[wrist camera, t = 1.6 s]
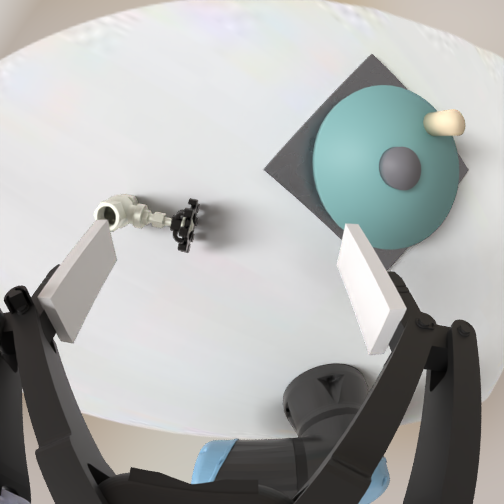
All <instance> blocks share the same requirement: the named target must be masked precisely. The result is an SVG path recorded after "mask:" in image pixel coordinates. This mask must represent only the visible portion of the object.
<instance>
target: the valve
mask: <svg viewBox="0 0 504 504" xmlns="http://www.w3.org/2000/svg"><path fill="white" fill-rule="evenodd" d="M188 204H190V205H191V208H190V209H189V208H185V209H184V210H180V211H178V212H177V214H176V215H173V217H172V218H168V217H167V216H166V213H161V212H155V213H154V214H152V213H151V210H148V206H147V205H145V204H138V201H137V198H136V196H132V195H126V194H121V195H114V196H112V197H110V198H109V199H107V200H105V201H102V202H101V203H100V205H99V206H98V207H97V209H96V211H95V213H94V217H95V220H108V223H109V228H110V232H114V231H115V230H117V229H118V228H123V227H125V226H127V225H128V224H133V226H134V227H136V228H140V229H142V228H144V226H145V225H148V224H149V223H152V226H153V227H158V228H164V226H165V225H166V226H170V230H171V231H173V238H174V240H175V241H176V242H178V243H179V244H178V250H180V251H181V252H186V253H189V251H190V242H193V240H194V234H193V233H194V228H195V226H197V223H198V218H197V217H196V216H197V213H198V211H199V207H200V204H198V200H196V199H191V198H190V199H189V202H188ZM178 232H179V236H181V237H182V238H178V236H177V235H178Z"/></svg>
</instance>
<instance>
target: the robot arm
mask: <svg viewBox="0 0 504 504" xmlns="http://www.w3.org/2000/svg"><path fill="white" fill-rule="evenodd" d="M116 261H117V258H116V254H115V250H114V245H113V241H112V237H111V233H110V228H109V223H108V220H96V221H95V222H94V223H93V224H92V226H91V227H90V228H89V229H88V230H87V232H86V233H85V234H84V235H83V236H82V238H81V239H80V240H79V241H78V243H77V244H76V245H75V246H74V248H73V249H72V250H71V251H70V253H69V254H68V255H67V257H66V258H65V259H64V261H63V262H62V263H61V265H60V264H58V265H57V266H55V267H54V268H53V269H52V270H51V271H50V272H49V273H48V275H47V276H46V278H45V279H44V280H43V281H42V283H41V284H40V286H39V287H38V288H37V290H36V291H35V293H34V294H33V296H32V297H30V295H29V293H28V291H27V288H26V287H25V286H17V287H14V288H12V289H11V290H10V291H8V292H7V294H6V295H5V297H4V302H5V304H6V306H7V307H8V309H9V311H10V312H8V313H3V312H2V311H1V309H0V504H31V493H30V483H29V476H28V469H27V464H26V463H27V462H26V454H25V445H24V435H23V417H22V388H23V392H24V396H25V400H26V404H27V408H28V412H29V416H30V419H31V423H32V426H33V429H34V432H35V435H36V438H37V441H38V445H39V448H38V449H37V450H36V451H35V455H36V459H37V462H38V464H39V467H40V470H41V472H42V475H43V477H44V480H45V482H46V484H47V487H48V489H49V491H50V493H51V495H52V497H53V500H54V502H55V504H370V503H371V502H373V501H374V500H376V499H377V498H378V497H379V496H381V495H382V493H383V492H384V491H385V490H386V489H387V487H388V485H389V482H390V477H389V473H388V469H387V465H386V462H387V461H386V458H385V457H384V453H385V452H386V450H387V448H388V446H389V444H390V442H391V440H392V439H393V437H394V435H395V433H396V431H397V429H398V427H399V425H400V423H401V421H402V419H403V416H404V414H405V412H406V410H407V408H408V406H409V403H410V401H411V399H412V396H413V394H414V392H415V389H416V387H417V384H418V382H419V379H420V377H421V374H422V372H423V369H427V373H426V385H425V395H424V404H423V412H422V419H421V426H420V432H419V438H418V443H417V449H416V453H415V458H414V463H413V467H412V472H411V475H410V480H409V483H408V487H407V491H406V494H405V498H404V501H403V504H473V499H474V494H475V487H476V481H477V473H478V465H479V454H480V439H481V382H480V367H479V356H478V347H477V339H476V333H475V330H474V328H473V327H472V325H470V324H469V323H468V322H466V321H464V320H455V321H454V322H453V323H452V325H451V327H446V326H440V325H437V324H436V322H435V320H434V319H433V318H432V317H431V316H430V315H428V314H426V313H423V312H421V311H420V309H419V308H418V306H417V304H416V302H415V300H414V299H413V297H412V295H411V293H409V290H408V288H407V287H406V285H405V283H404V281H403V280H402V278H401V277H400V276H399V275H398V274H396V273H395V272H387V271H386V269H385V268H384V266H383V264H382V262H381V261H380V259H379V257H378V256H377V254H376V252H375V251H374V249H373V247H372V245H371V244H370V242H369V241H368V239H367V237H366V236H365V234H364V232H363V231H362V229H361V228H360V226H359V224H346V223H345V228H344V233H343V238H342V243H341V247H340V252H339V256H338V261H337V267H338V270H339V273H340V275H341V278H342V280H343V283H344V286H345V288H346V291H347V294H348V296H349V299H350V302H351V305H352V307H353V310H354V313H355V316H356V319H357V321H358V324H359V327H360V330H361V333H362V336H363V339H364V342H365V345H366V348H367V351H368V354H369V355H375V354H384V353H385V351H386V349H387V347H388V345H389V346H390V349H391V351H392V352H391V354H390V356H389V358H388V359H387V361H386V363H385V364H384V366H383V369H382V371H381V373H380V375H379V376H378V378H377V380H376V382H375V384H374V385H373V387H372V389H371V391H370V392H369V394H368V386H367V383H366V381H365V379H364V377H363V375H362V374H361V372H360V371H358V370H357V369H355V368H354V367H351V366H348V365H343V364H328V365H323V366H319V367H315V368H313V369H310V370H308V371H306V372H304V373H302V374H301V375H299V376H298V377H296V378H295V379H294V380H293V381H292V382H291V383H290V384H289V385H288V387H287V388H286V390H285V392H284V396H283V405H284V412H285V415H286V417H287V418H288V420H289V422H290V423H291V425H292V426H293V428H294V430H295V431H296V433H297V434H298V438H285V439H264V440H239V439H234V440H213V441H210V442H208V443H206V444H205V445H204V446H203V448H202V449H201V451H200V453H199V455H198V458H197V460H196V463H195V467H194V471H193V475H192V482H191V484H189V483H186V482H183V481H180V480H178V479H175V478H172V477H170V476H167V475H165V474H162V473H159V472H153V471H147V470H142V469H137V468H132V467H131V469H130V473H123V474H119V475H115V473H114V472H113V470H112V469H111V468H110V467H109V465H108V464H107V463H106V462H105V460H104V459H103V457H102V455H101V453H100V451H99V449H98V448H97V446H96V444H95V442H94V440H93V438H92V436H91V434H90V431H89V429H88V428H87V425H86V423H85V421H84V418H83V416H82V414H81V412H80V409H79V407H78V405H77V402H76V400H75V397H74V395H73V392H72V390H71V387H70V384H69V382H68V379H67V376H66V373H65V371H64V368H63V365H62V362H61V359H60V356H59V352H58V349H57V346H56V343H55V341H54V340H53V337H54V336H55V334H57V335H58V337H59V339H60V341H63V342H68V343H74V341H75V339H76V337H77V335H78V333H79V331H80V329H81V327H82V325H83V323H84V320H85V318H86V316H87V315H88V313H89V311H90V309H91V307H92V305H93V303H94V301H95V299H96V297H97V295H98V293H99V291H100V290H101V288H102V286H103V284H104V282H105V280H106V279H107V277H108V275H109V273H110V272H111V270H112V268H113V266H114V265H115V263H116Z"/></svg>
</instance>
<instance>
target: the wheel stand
mask: <svg viewBox="0 0 504 504" xmlns="http://www.w3.org/2000/svg"><path fill="white" fill-rule="evenodd" d="M378 85H390V86H396V87H401V88H404V89H406V88H405V86H404V85H403V84H402V83H401V82H400V81H399V80H398V79H397V78H396V77H395V76H394V75H393V74H392V73H391V72H390V71H389V70H388V69H387V68H386V67H385V66H384V65H383V64H382V63H381V62H380V61H379V60H378V59H377V58H376V57H375V56H374V55H373V54H371V55H370V56H369V57H368V58H367V59H366V60H365V61H364V62H363V63H362V64H361V65H360V66H359V67H358V68H357V69H356V70H355V71H354V72H353V73H352V74H351V75H350V76H349V77H348V78H347V79H346V80H345V81H344V82H343V83H342V84H341V85H340V86H339V87H338V88H337V89H336V91H335V92H334V93H333V94H332V95H331V96H330V97H329V98H328V99H327V100H326V101H325V102H324V103H323V104H322V105H321V106H320V107H319V108H318V110H317V111H316V112H315V113H314V114H313V115H312V116H311V117H310V118H309V119H308V120H307V121H306V122H305V124H304V125H303V126H302V127H301V128H300V129H299V130H298V131H297V132H296V133H295V134H294V136H293V137H292V138H291V139H290V140H289V141H288V142H287V143H286V144H285V146H284V147H283V148H282V149H281V150H280V151H279V152H278V153H277V154H276V156H275V157H274V158H273V159H272V160H271V161H270V162H269V164H268V165H267V166H266V167H265V168H264V170H265V171H266V172H267V173H268V174H269V175H271V176H272V177H273V178H274V179H275V180H276V181H278V182H279V183H280V184H281V185H282V186H283V187H284V188H286V189H287V190H288V191H289V192H290V193H291V194H292V195H294V196H295V197H296V198H297V199H298V200H299V201H300V202H301V203H303V204H304V205H305V206H306V207H307V208H308V209H309V210H310V211H311V212H313V213H314V214H315V215H316V216H317V217H318V218H319V219H320V220H321V221H322V222H323V223H325V224H326V225H327V226H328V227H329V228H330V229H331V230H332V231H333V232H334V233H335V234H336V235H337V236H338V237H339V238H340V239H342V238H343V233H344V230H343V229H342V228H341V227H340V226H338V225H337V223H336V222H335V221H334V220H333V219H332V218H331V216H330V215H329V214H328V212H327V211H326V209H325V207H324V206H323V204H322V202H321V200H320V197H319V195H318V192H317V189H316V185H315V181H314V175H313V150H314V144H315V140H316V136H317V133H318V131H319V129H320V126H321V124H322V122H323V121H324V119H325V117H326V116H327V114H328V113H329V112H330V111H331V109H332V108H333V107H334V106H335V105H337V104H338V103H339V102H340V101H341V100H343V99H344V98H346V97H347V96H349V95H351V94H352V93H354V92H356V91H359V90H361V89H363V88H367V87H371V86H378ZM406 90H407V89H406ZM458 159H459V182H460V181H461V180H462V178H463V177H464V176H465V174H466V173H467V171H468V168H467V167H466V165H465V164H464V162H463V161H462V159H461V158H460V156H459V155H458ZM459 182H458V184H459ZM373 249H374V251H375V252H376V254H377V256H378V257H379V259H380V261H381V262H382V264H383V266H384V268H385V269H386V271H387V270H388V269H389V268H390V266H391V265H392V264H393V263H394V262H395V261H396V260H397V259H398V258H399V256H400V255H401V254H402V253H403V252H404V251H405V250H406V249H407V247H406V248H401V249H379V248H375V247H373Z"/></svg>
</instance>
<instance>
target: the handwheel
mask: <svg viewBox="0 0 504 504" xmlns="http://www.w3.org/2000/svg"><path fill="white" fill-rule="evenodd" d="M464 130H465V120H464V117H463V116H462V114H461V113H460V112H459V111H458V110H455V109H451V110H444V111H438V112H437V110H436V109H435V108H434V107H433V106H432V105H431V104H430V103H428V102H427V101H426V100H425V99H423V98H422V97H420V96H419V95H417V94H415V93H413V92H411V91H409V90H406V89H404V88H401V87H396V86H390V85H378V86H371V87H367V88H363V89H361V90H359V91H356V92H354V93H352V94H351V95H349V96H347V97H346V98H344V99H343V100H341V101H340V102H339V103H338V104H337V105H335V106H334V107H333V108H332V109H331V111H330V112H329V113H328V114H327V116H326V117H325V119H324V121H323V122H322V124H321V126H320V129H319V131H318V133H317V136H316V140H315V144H314V150H313V175H314V181H315V185H316V189H317V192H318V195H319V197H320V200H321V202H322V204H323V206H324V207H325V209H326V211H327V212H328V214H329V215H330V216H331V218H332V219H333V220H334V221H335V222H336V223H337V225H338V226H340V227H341V228H342V229H343V230H344V228H345V223H346V224H359V226H360V228H361V229H362V231H363V232H364V234H365V236H366V237H367V239H368V241H369V242H370V244H371V245H372V247H375V248H379V249H401V248H406V247H409V246H412V245H415V244H417V243H419V242H421V241H422V240H424V239H426V238H427V237H429V236H430V235H431V234H432V233H433V232H434V231H435V230H436V229H437V228H438V227H439V226H440V225H441V224H442V222H443V221H444V220H445V218H446V217H447V215H448V213H449V211H450V209H451V207H452V205H453V202H454V200H455V196H456V193H457V188H458V182H459V159H458V153H457V149H456V145H455V142H454V139H453V136H460V135H462V134H463V132H464Z"/></svg>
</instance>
